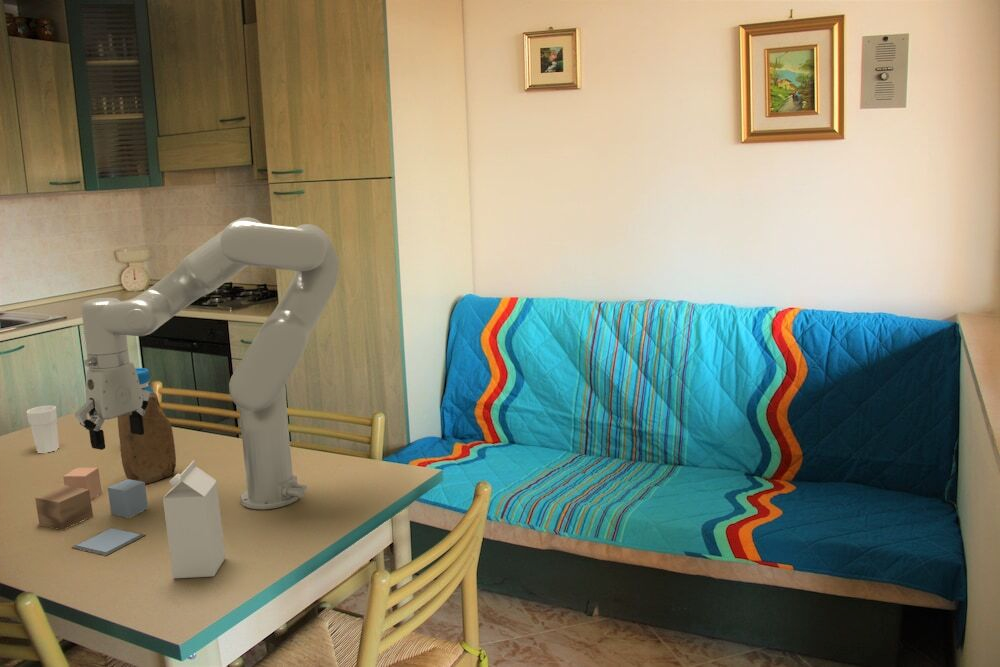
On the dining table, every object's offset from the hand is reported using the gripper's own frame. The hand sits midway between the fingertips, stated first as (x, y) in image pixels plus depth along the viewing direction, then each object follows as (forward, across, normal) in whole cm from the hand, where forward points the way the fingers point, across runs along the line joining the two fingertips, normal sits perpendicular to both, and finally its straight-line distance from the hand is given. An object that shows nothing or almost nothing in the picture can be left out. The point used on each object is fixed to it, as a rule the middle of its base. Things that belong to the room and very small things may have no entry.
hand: (118, 441), depth 171 cm
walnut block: (+16, -8, +9) cm, 20 cm away
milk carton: (+15, -14, -33) cm, 39 cm away
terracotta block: (+16, +2, +16) cm, 22 cm away
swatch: (+16, -12, -8) cm, 21 cm away
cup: (+16, +21, +53) cm, 59 cm away
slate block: (+16, 0, 0) cm, 16 cm away
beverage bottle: (+16, +32, +31) cm, 47 cm away
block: (+16, +16, +11) cm, 25 cm away
